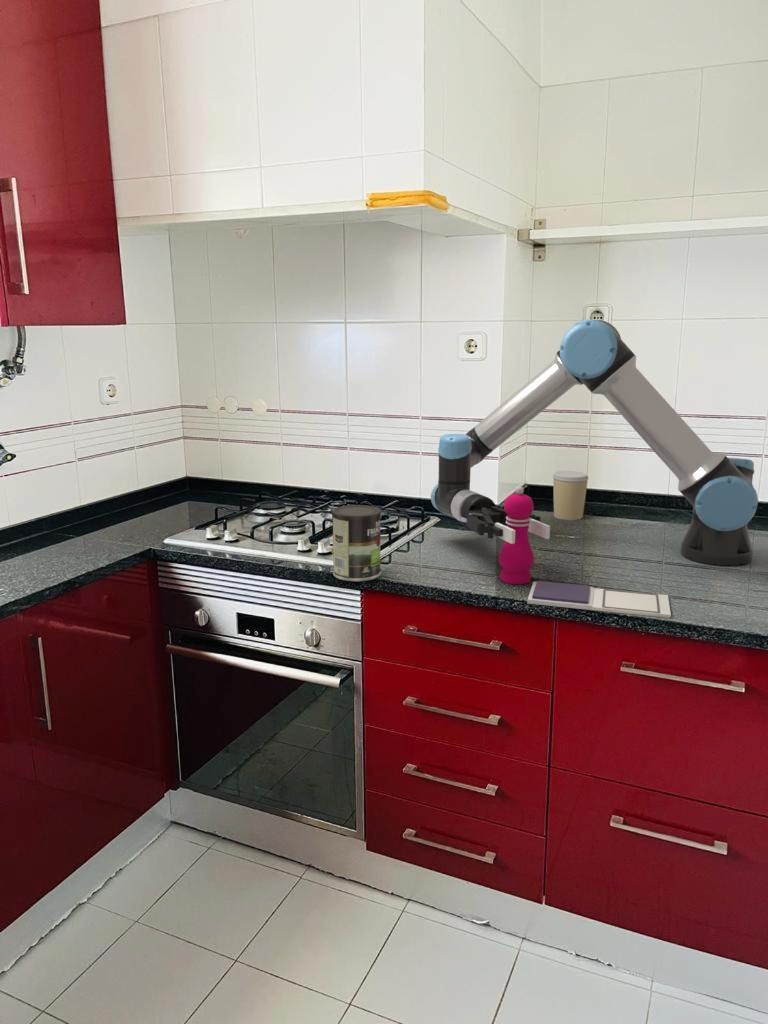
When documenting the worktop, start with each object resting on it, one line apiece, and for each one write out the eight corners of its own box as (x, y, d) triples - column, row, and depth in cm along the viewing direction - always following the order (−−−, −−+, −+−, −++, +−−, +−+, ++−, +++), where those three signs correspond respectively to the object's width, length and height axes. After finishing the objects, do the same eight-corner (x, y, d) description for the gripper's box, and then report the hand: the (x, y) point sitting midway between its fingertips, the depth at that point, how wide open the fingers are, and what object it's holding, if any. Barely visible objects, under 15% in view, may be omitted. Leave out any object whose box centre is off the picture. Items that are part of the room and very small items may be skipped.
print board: (667, 598, 154) (667, 594, 154) (670, 618, 144) (670, 614, 144) (593, 590, 158) (594, 587, 158) (591, 610, 148) (591, 606, 147)
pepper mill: (506, 586, 160) (510, 491, 155) (492, 575, 167) (495, 483, 162) (539, 583, 162) (543, 488, 157) (523, 572, 169) (527, 481, 164)
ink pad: (593, 590, 158) (594, 584, 157) (591, 610, 148) (592, 603, 147) (533, 585, 161) (533, 579, 161) (527, 603, 151) (527, 597, 151)
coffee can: (388, 569, 171) (388, 506, 168) (369, 584, 162) (369, 518, 158) (344, 564, 175) (344, 502, 171) (324, 578, 165) (323, 513, 162)
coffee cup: (575, 511, 222) (577, 469, 219) (592, 519, 213) (594, 476, 210) (545, 513, 220) (547, 471, 217) (560, 521, 211) (563, 478, 208)
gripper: (512, 521, 183) (571, 547, 162) (433, 530, 175) (486, 558, 155) (513, 489, 181) (574, 511, 161) (434, 497, 173) (487, 521, 153)
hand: (530, 534), depth 158 cm, fingers open, 8 cm apart
